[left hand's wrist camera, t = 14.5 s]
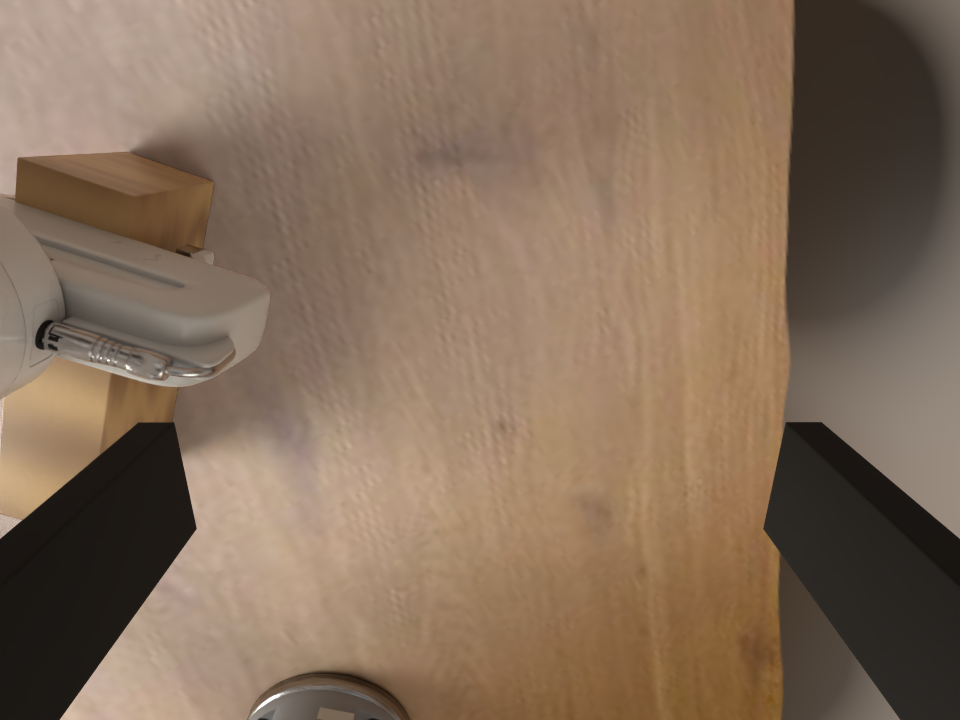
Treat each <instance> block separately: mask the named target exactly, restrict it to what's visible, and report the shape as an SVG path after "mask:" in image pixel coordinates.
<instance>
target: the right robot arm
mask: <svg viewBox="0 0 960 720" xmlns="http://www.w3.org/2000/svg"><path fill="white" fill-rule="evenodd" d="M213 262H214V252H211V251H208V250H205V249H202V248H199V247H196V246H192V245H189V244H187V245H185V246H181V247H179V248H176V253H174V252H171V251H168V250H165V249H162V248H159V247H156V246H153V245H149V244H146V243H143V242H140V241H137V240H134V239H131V238H127V237H124V236H120V235H117V234H114V233H111V232H108V231H105V230H102V229H99V228H96V227H93V226H90V225H87V224H83V223H80V222H77V221H74V220H71V219H68V218H65V217H62V216H59V215H56V214H53V213H50V212H46V211H43V210H40V209H37V208H34V207H31V206H28V205H25V204H22V203H19V202H16V201H15V196H14V195H7V194H0V399H2V398H4V397H6V396H7V395H9V394H11V393H13V392H15V391H16V390H18V389H20V388H22V387H24V386H25V385H27V384H29V383H31V382H32V381H34V380H35V379H36V378H38V377H39V376H40V375H41V374H42V373H43V372H44V371H45V370H46V369H47V368H48V367H49V366H50V364H51V363H52V362H53V360H54V358H55V357H56V356H57V357H60V358H63V359H67V360H70V361H73V362H77V363H80V364H84V365H87V366H90V367H94V368H97V369H101V370H104V371H107V372H111V373H114V374H117V375H121V376H124V377H128V378H131V379H134V380H138V381H141V382H145V383H149V384H154V385H160V386H168V387H183V386H190V385H194V384H198V383H201V382H204V381H206V380H209V379H212V378H214V377H216V376H218V375H219V374H220V373H222V372H224V371H226V370H227V369H229V368H231V367H233V366H234V365H236V364H237V363H239V362H240V361H242V360H243V359H245V358H246V357H247V356H249V355H250V354H251V353H253V352H254V351H255V350H256V349H257V347H258V346H259V344H260V342H261V339H262V336H263V332H264V328H265V324H266V320H267V316H268V311H269V305H270V293H269V291H268V290H267V288H266V287H265V286H264V285H263V284H262V283H261V282H260V281H258V280H257V279H254V278H252V277H249V276H245V275H242V274H239V273H236V272H233V271H230V270H227V269H223V268H220V267H217V266H214V265H213Z"/></svg>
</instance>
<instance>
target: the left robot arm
mask: <svg viewBox="0 0 960 720" xmlns="http://www.w3.org/2000/svg"><path fill="white" fill-rule="evenodd" d="M196 529H197V528H196V524H195V519H194V514H193V509H192V505H191V500H190V495H189V490H188V486H187V481H186V476H185V471H184V467H183V462H182V457H181V452H180V448H179V443H178V438H177V433H176V429H175V424H174V422H138V423H137V424H136V425H135V426H134V427H132V428H131V429H130V430H129V431H128V432H126V433H125V434H124V435H123V436H122V437H121V438H119V439H118V440H117V441H116V442H115V443H113V444H112V445H111V446H110V447H109V448H107V449H106V450H105V451H104V452H103V453H102V454H100V455H99V456H98V457H97V458H96V459H94V460H93V461H92V462H91V463H90V464H89V465H87V466H86V467H85V468H84V469H83V470H81V471H80V472H79V473H78V474H77V475H75V476H74V477H73V478H72V479H71V480H70V481H68V482H67V483H66V484H65V485H64V486H62V487H61V488H60V489H59V490H58V491H57V492H55V493H54V494H53V495H52V496H51V497H49V498H48V499H47V500H46V501H45V502H44V503H42V504H41V505H40V506H39V507H38V508H36V509H35V510H34V511H33V512H32V513H30V514H29V515H28V516H27V517H26V518H25V519H23V520H22V521H21V522H20V523H19V524H17V525H16V526H15V527H14V528H13V529H12V530H10V531H9V532H8V533H7V534H6V535H4V536H3V537H2V538H1V539H0V720H60V718H61V717H62V716H63V714H64V713H65V711H66V710H67V709H68V707H69V706H70V704H71V703H72V702H73V700H74V699H75V698H76V696H77V695H78V693H79V692H80V691H81V689H82V688H83V686H84V685H85V684H86V682H87V681H88V679H89V678H90V677H91V675H92V674H93V672H94V671H95V670H96V668H97V667H98V665H99V664H100V663H101V661H102V660H103V659H104V657H105V656H106V654H107V653H108V652H109V650H110V649H111V647H112V646H113V645H114V643H115V642H116V640H117V639H118V638H119V636H120V635H121V633H122V632H123V631H124V629H125V628H126V626H127V625H128V624H129V622H130V621H131V620H132V618H133V617H134V615H135V614H136V613H137V611H138V610H139V608H140V607H141V606H142V604H143V603H144V601H145V600H146V599H147V597H148V596H149V594H150V593H151V592H152V590H153V589H154V587H155V586H156V585H157V583H158V582H159V581H160V579H161V578H162V576H163V575H164V574H165V572H166V571H167V569H168V568H169V567H170V565H171V564H172V562H173V561H174V560H175V558H176V557H177V555H178V554H179V553H180V551H181V550H182V548H183V547H184V546H185V544H186V543H187V542H188V540H189V539H190V537H191V536H192V535H193V533H194V532H195V530H196ZM763 529H764V530H765V532H766V533H767V535H768V536H769V537H770V539H771V540H772V542H773V543H774V544H775V546H776V547H777V548H778V550H779V551H780V553H781V554H782V555H783V557H784V558H785V560H786V561H787V562H788V564H789V565H790V567H791V568H792V569H793V571H794V572H795V573H796V575H797V576H798V578H799V579H800V581H801V582H802V583H803V585H804V586H805V587H806V589H807V590H808V592H809V593H810V594H811V596H812V597H813V599H814V600H815V601H816V603H817V604H818V606H819V607H820V608H821V610H822V611H823V612H824V614H825V615H826V617H827V618H828V620H829V621H830V622H831V624H832V625H833V626H834V628H835V629H836V631H837V632H838V633H839V635H840V636H841V638H842V639H843V640H844V642H845V643H846V645H847V646H848V647H849V649H850V650H851V651H852V653H853V654H854V656H855V657H856V659H857V660H858V661H859V663H860V664H861V665H862V667H863V668H864V670H865V671H866V672H867V674H868V675H869V676H870V678H871V679H872V681H873V682H874V683H875V685H876V686H877V688H878V689H879V690H880V692H881V693H882V695H883V696H884V698H885V699H886V700H887V702H888V703H889V704H890V706H891V707H892V709H893V710H894V711H895V713H896V714H897V716H898V717H899V718H900V720H960V539H959V538H958V537H957V536H956V535H954V534H953V533H952V532H951V531H950V530H948V529H947V528H946V527H945V526H944V525H943V524H941V523H940V522H939V521H938V520H937V519H935V518H934V517H933V516H932V515H931V514H930V513H928V512H927V511H926V510H925V509H924V508H922V507H921V506H920V505H919V504H918V503H916V502H915V501H914V500H913V499H912V498H911V497H909V496H908V495H907V494H906V493H905V492H903V491H902V490H901V489H900V488H899V487H898V486H896V485H895V484H894V483H893V482H892V481H890V480H889V479H888V478H887V477H886V476H884V475H883V474H882V473H881V472H880V471H879V470H877V469H876V468H875V467H874V466H873V465H871V464H870V463H869V462H868V461H867V460H865V459H864V458H863V457H862V456H861V455H860V454H858V453H857V452H856V451H855V450H854V449H853V448H851V447H850V446H849V445H848V444H847V443H845V442H844V441H843V440H842V439H841V438H839V437H838V436H837V435H836V434H835V433H833V432H832V431H831V430H830V429H829V428H828V427H826V426H825V425H824V424H823V423H821V422H786V424H785V429H784V433H783V438H782V443H781V448H780V452H779V457H778V462H777V467H776V471H775V476H774V481H773V486H772V490H771V495H770V500H769V505H768V509H767V514H766V519H765V524H764V528H763ZM247 720H409V717H408V715H407V714H406V712H405V711H404V709H403V708H402V706H401V705H400V704H399V703H398V702H397V701H396V700H395V699H394V698H393V697H392V696H390V695H389V694H388V693H386V692H385V691H383V690H382V689H380V688H378V687H376V686H374V685H373V684H370V683H368V682H366V681H363V680H360V679H357V678H353V677H349V676H344V675H338V674H308V675H302V676H297V677H294V678H290V679H287V680H285V681H282V682H280V683H278V684H276V685H274V686H273V687H271V688H270V689H268V690H267V691H266V692H264V693H263V694H262V695H261V696H260V697H259V698H258V700H257V701H256V702H255V704H254V705H253V707H252V709H251V711H250V714H249V716H248V719H247Z"/></svg>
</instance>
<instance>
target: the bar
mask: <svg viewBox="0 0 960 720" xmlns="http://www.w3.org/2000/svg"><path fill="white" fill-rule="evenodd" d="M213 188H214V182H213V181H210V180H207V179H204V178H202V177H199V176H196V175H193V174H190V173H187V172H184V171H181V170H178V169H175V168H173V167H170V166H167V165H164V164H161V163H158V162H155V161H152V160H149V159H146V158H143V157H141V156H138V155H135V154H132V153H129V152H116V153H97V154H77V155H58V156H39V157H19V158H18V162H17V178H16V195H15V201H16V202H19V203H22V204H25V205H28V206H31V207H34V208H37V209H40V210H43V211H46V212H50V213H53V214H56V215H59V216H62V217H65V218H68V219H71V220H74V221H77V222H80V223H83V224H87V225H90V226H93V227H96V228H99V229H102V230H105V231H108V232H111V233H114V234H117V235H120V236H124V237H127V238H131V239H134V240H137V241H140V242H143V243H146V244H149V245H153V246H156V247H159V248H162V249H165V250H168V251H171V252H174V253H176V248H179V247H181V246H185V245H187V244H189V245H192V246H196V247H199V248H202V249H203V244H204V238H205V233H206V227H207V221H208V216H209V210H210V204H211V199H212V193H213ZM177 390H178V387H168V386H160V385H154V384H149V383H145V382H141V381H138V380H134V379H131V378H128V377H124V376H121V375H117V374H114V373H111V372H107V371H104V370H101V369H97V368H94V367H90V366H87V365H84V364H80V363H77V362H73V361H70V360H67V359H63V358H60V357H57V356H56V357H55V358H54V360H53V362H52V363H51V364H50V366H49V367H48V368H47V369H46V370H45V371H44V372H43V373H42V374H41V375H40V376H39V377H38V378H36V379H35V380H34V381H32V382H31V383H29V384H27V385H25V386H24V387H22V388H20V389H18V390H16V391H15V392H13V393H11V394H9V395H7V396H6V397H4V398H3V409H2V425H1V442H0V514H2V515H5V516H9V517H13V518H17V519H21V520H23V519H25V518H26V517H27V516H28V515H29V514H30V513H32V512H33V511H34V510H35V509H36V508H38V507H39V506H40V505H41V504H42V503H44V502H45V501H46V500H47V499H48V498H49V497H51V496H52V495H53V494H54V493H55V492H57V491H58V490H59V489H60V488H61V487H62V486H64V485H65V484H66V483H67V482H68V481H70V480H71V479H72V478H73V477H74V476H75V475H77V474H78V473H79V472H80V471H81V470H83V469H84V468H85V467H86V466H87V465H89V464H90V463H91V462H92V461H93V460H94V459H96V458H97V457H98V456H99V455H100V454H102V453H103V452H104V451H105V450H106V449H107V448H109V447H110V446H111V445H112V444H113V443H115V442H116V441H117V440H118V439H119V438H121V437H122V436H123V435H124V434H125V433H126V432H128V431H129V430H130V429H131V428H132V427H134V426H135V425H136V424H137V423H138V422H172V418H173V412H174V407H175V401H176V396H177Z"/></svg>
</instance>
